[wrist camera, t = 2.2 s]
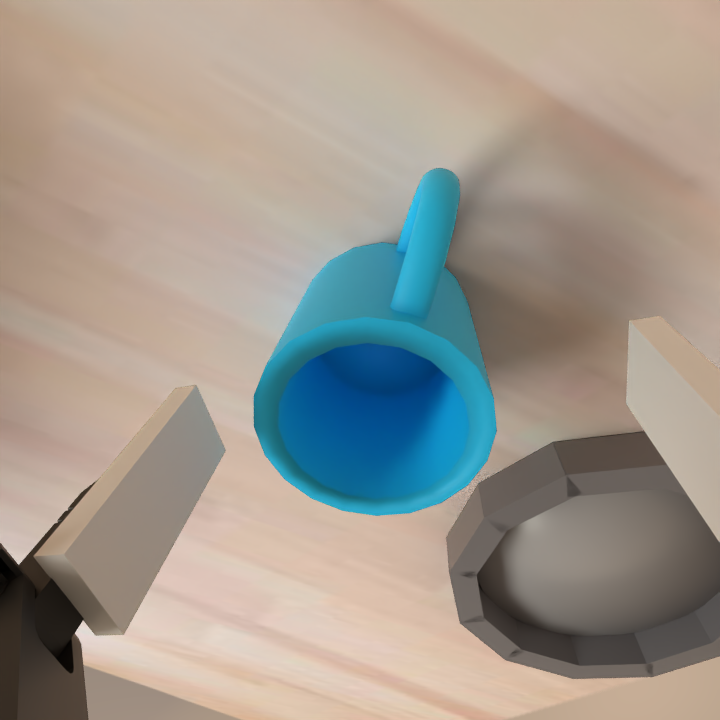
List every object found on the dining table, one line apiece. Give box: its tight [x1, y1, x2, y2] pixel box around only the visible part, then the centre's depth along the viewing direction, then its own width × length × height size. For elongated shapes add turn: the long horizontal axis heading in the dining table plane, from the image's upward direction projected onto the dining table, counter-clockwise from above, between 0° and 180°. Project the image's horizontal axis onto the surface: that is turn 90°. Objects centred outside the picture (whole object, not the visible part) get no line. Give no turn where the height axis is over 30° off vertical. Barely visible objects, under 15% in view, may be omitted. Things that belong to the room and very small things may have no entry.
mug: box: [254, 168, 497, 516], centre depth 18 cm, size 12×8×8 cm
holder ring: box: [446, 432, 720, 679], centre depth 28 cm, size 18×18×2 cm
